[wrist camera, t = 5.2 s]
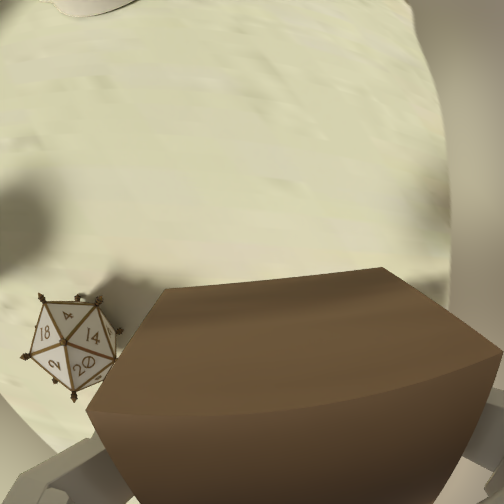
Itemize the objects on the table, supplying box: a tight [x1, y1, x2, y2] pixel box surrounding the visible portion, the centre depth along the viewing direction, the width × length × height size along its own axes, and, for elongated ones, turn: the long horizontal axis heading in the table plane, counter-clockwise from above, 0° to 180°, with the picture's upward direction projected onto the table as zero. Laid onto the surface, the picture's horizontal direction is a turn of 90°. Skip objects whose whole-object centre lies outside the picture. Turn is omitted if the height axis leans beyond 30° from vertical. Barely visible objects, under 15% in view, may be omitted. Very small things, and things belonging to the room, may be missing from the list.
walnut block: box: [86, 267, 503, 504], centre depth 6 cm, size 6×6×5 cm
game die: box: [20, 293, 124, 403], centre depth 21 cm, size 9×8×10 cm
